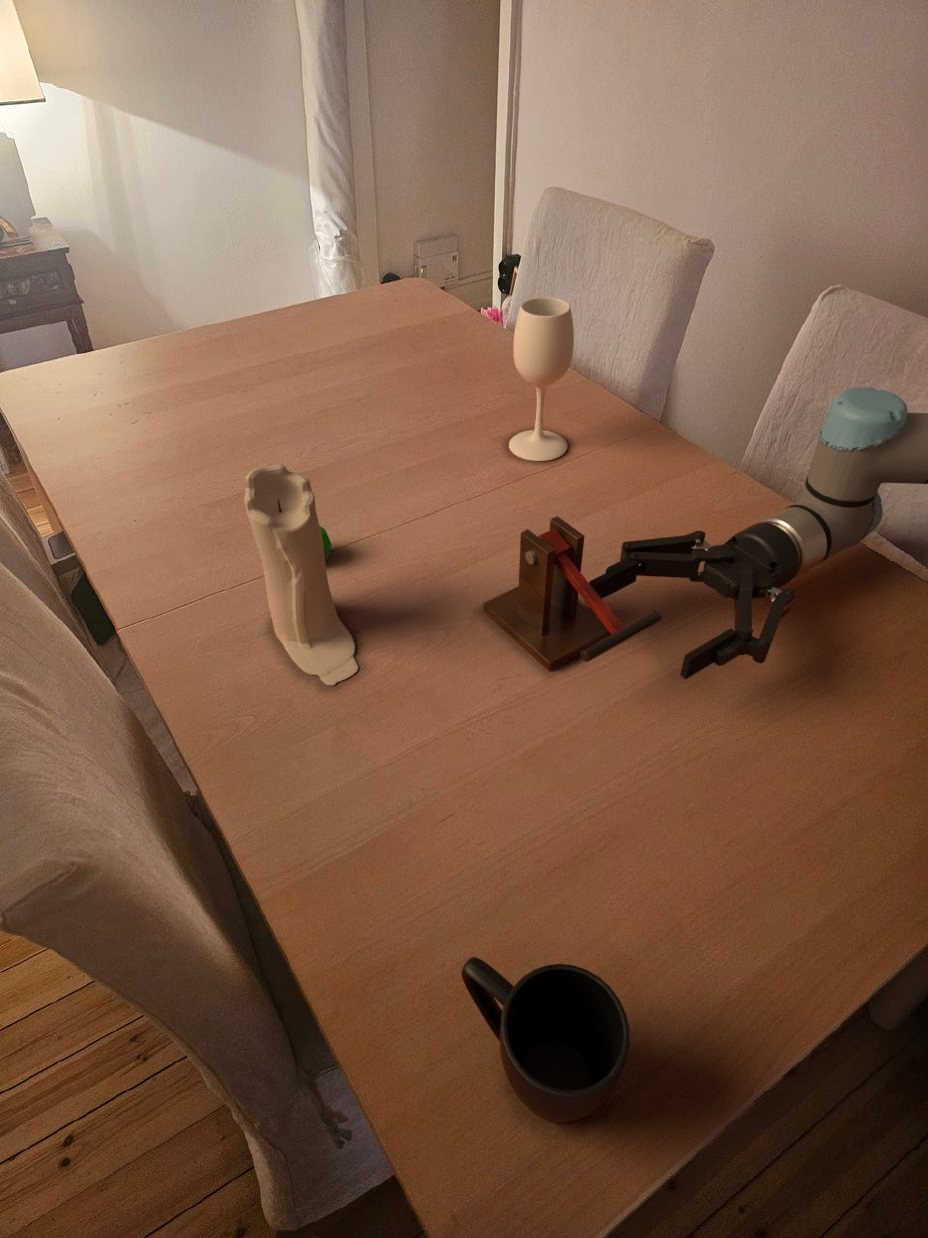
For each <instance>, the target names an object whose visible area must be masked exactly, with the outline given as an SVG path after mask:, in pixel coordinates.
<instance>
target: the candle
mask: <svg viewBox="0 0 928 1238" xmlns="http://www.w3.org/2000/svg"><path fill="white" fill-rule="evenodd" d="M243 503H244V506H245V510H246V514H247V517H248V520H249V521H248V522H249V525H250V528H251V531H252V534H253V537H254V540H255V543H256V546H257V549H258V553H259V556H260V561H261V565H262V569H263V574H264V581H265V589H266V596H267V602H268V603H267V604H268V608H269V612H270V617H271V621H272V625H273V629H274V634H275V636H276V638H277V639H278V640H279V641H280V642H281V644H282V646H283V648H284V649H285V650H286V652H287V654H288V655H289V657H290V659H291V660H292V661H293V662H294V663H295V665H297V666H298V668H299V669H301V671H303V673H306V674H308V675H311V676H318V677H319V679H320V680H321V682H322V683H324V684H325V685H328V686H336V684H337V683H339V682H342V681H344V680H346V679H348V678H350V677H352V676H353V675H354V674H355V673H357V672H358V670H359V666H358V663H357V661H356V659H355V653H356V644H355V642H354V638H353V636H352V634H351V633H350V631H349V630H348V629H347V627H346V626H345V625H344V623H343V622H342V620H341V619H340V617H339V616H338V612H337V610H336V606H335V604H334V599H333V595H332V593H331V590H330V584H329V579H328V573H327V565H326V558H325V556H324V547H323V539H322V534H321V530H320V526H321V525H320V522H319V518H318V514H317V506H316V497H315V494H314V491H313V489H312V485H311V482H310V479H309V478H308V477H307V476H305V475H304V474H300V473H297V472H293V471H289V469H287V467H286V466H285V465H284V464H281V463H280V464H273V465H267V466H263V467H259V468H255V469H252V470H250V471H249V472H248V473H247V474H246V475H245V480H244V497H243Z"/></svg>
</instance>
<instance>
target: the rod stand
mask: <svg viewBox="0 0 928 1238" xmlns="http://www.w3.org/2000/svg"><path fill="white" fill-rule="evenodd" d="M554 528H555V529H556V530H557V531H558V532H559V534H560V535H561V536H562V537H563V539H564V540H565V541H566V542H567V544H568V545H569V546H570V549H569V551H568V553H567V557H568V558H569V559H570V560H571V562H572V563H573V564H574V565H575V567H576V568H577V569H578V570H579V572H580V573H581V574H582V563H583V555H584V545H585V535H584V534H583V533H582V532H580V531H579V530H578V529H576V528H574V526H572V525H571V524H569V523H568V522H567V521H565V520H564V519H562V518H561V517H559V515H558V516H554V517H552V518H550V520H549V531H550V530H552V529H554ZM519 543H520V544H519V566H518V585H517V586H516V587H513V588H512V589H510V590H508V591H506V592H504V593H502V594H499V595H498V596H496V597H494V598H491V599H490V600H488V601H485V602H483V606H482V611H483V613H484V614H485V615H487V616H488V617H489V618H490V619H491V620H492V621H493V622H494V623H495V624H496V625H498V627H500V628H501V629H502V630H503V631H504V632H505V633H507V635H508V636H509V637H511V638H512V639H513V640H514V641H515V642H516V643H517V644H518V645H519V646H521V647H522V648H523V649H524V650H525V651H526V652H527V653H528V654H529V655H531V656H532V657H533V659H535V660H536V661H537V662H538V663H539V664H540V665H541V666H543V668H545V669H546V670H547V671H548V672H551V671H553V670H555V669H557V668H559V667H560V666H562V665H564V664H566V663H568V662H569V661H572V660H573V659H574V658H576V657H578V656H581V651H583V650H585V649H586V648H588V647H590V646H592V645H594V644H595V643H597V642H599V641H601V640H603V639H604V638H606V637H608V636H610V635H612V634H611V633H610V632H609V631H608V629H607V628H606V627H605V626H604V624H603V623H602V622H601V621H600V619H599V618H598V617H597V615H596V614H595V613H594V612H591V611H590V610H589V609H588V608H587V607H585V606H584V605H583V604H581V603H580V602H579V601H578V600H579V593H578V591H577V590H576V589H575V588H574V586H573V585H572V584H571V583H570V581H569V580H568V579H567V578H566V576H565V575H564V574H563V573H562V571H561V570H560V569H559V567H558V566H557V565H556V564H555V565H554V557H555V549H553V548H552V547H551V546H549V545H548V544H547V543H545V542H544V541H543V540H541V539H540V538H539V535H537V534H535V533H534V532H532V531H531V530H530V529H528V528H527V529H525V530H523V531H521V532H520V542H519Z"/></svg>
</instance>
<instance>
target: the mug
mask: <svg viewBox="0 0 928 1238" xmlns="http://www.w3.org/2000/svg"><path fill="white" fill-rule="evenodd" d="M461 978H462V981H463V983H464V986H465V988H466V989H467V992H468V994H469V995H470V997H471V999H472V1000H473V1002H474V1004H475V1006H476V1008H477V1009H478V1011H479V1012H480V1015H481V1016H482V1017H483V1019H484V1020H485V1022H486V1024H487V1025H488V1027H489V1028H490V1030H491V1031H492V1033H493V1034H494V1036H495V1038H496V1039H497V1040H498V1041H499V1049H500V1056H501V1063H502V1067H503V1070H504V1072H505V1075H506V1078H507V1081H508V1083H509V1085H510V1086H511V1089H512V1090H513V1092H514V1093H515V1095H516V1097H517V1098H518V1099H519V1101H521V1103H522V1104H523V1105H524V1106H525V1107H526V1108H527V1109H528V1110H529V1111H531V1112H532V1113H533V1114H534V1115H535V1116H537V1117H538V1118H540V1119H541V1120H544V1121H546V1122H549V1123H554V1124H555V1123H556V1124H562V1123H569V1122H574V1121H577V1120H579V1119H582V1118H584V1117H587V1116H589V1115H590V1114H591V1113H593V1112H594V1111H595V1110H597V1109H598V1108H600V1107H601V1106H602V1105H603V1104H604V1103H605V1102H606V1100H607V1099H608V1098H609V1097H610V1095H611V1094H612V1093H613V1091H614V1090H615V1089H616V1087H617V1085H618V1082H619V1080H620V1079H621V1076H622V1073H623V1071H624V1067H625V1065H626V1061H627V1058H628V1055H629V1048H630V1043H631V1040H630V1039H631V1038H630V1037H631V1036H630V1024H629V1021H628V1017H627V1013H626V1011H625V1008H624V1005H623V1004H622V1002H621V1000H620V998H619V997H618V995H617V994H616V993H615V992H614V990H613V989H612V987H611V986H610V985H609V984H608V983H607V982H605V981H604V980H603V979H602V978H601V977H600V976H598V975H597V974H594V973H593V972H592V971H589V970H588V969H586V968H582V967H580V966H576V965H573V964H565V963H555V964H547V965H544V966H541V967H537V968H534V969H533V970H531V971H530V972H528V973H527V974H525V975H523V976H522V977H521V978H520V979H519V980H518V981H517V982H516V983H515V984H512V983H511V982H510V981H508V979H506V978H505V977H504V976H503V975H502V974H501V973H500V972H498V971H497V970H496V969H495V968H494V967H492V966H491V965H490V964H488V963H487V962H486V961H484V960H483V959H481V958H479V957H477V956H473V957H470V958H469V959H467V961H466V962H465V963H464V964H463V966H462V969H461ZM497 1001H498V1002H499V1003H500V1005H502V1006H503V1007H502V1008H501V1006H500V1005H499V1004H498V1002H497Z"/></svg>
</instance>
